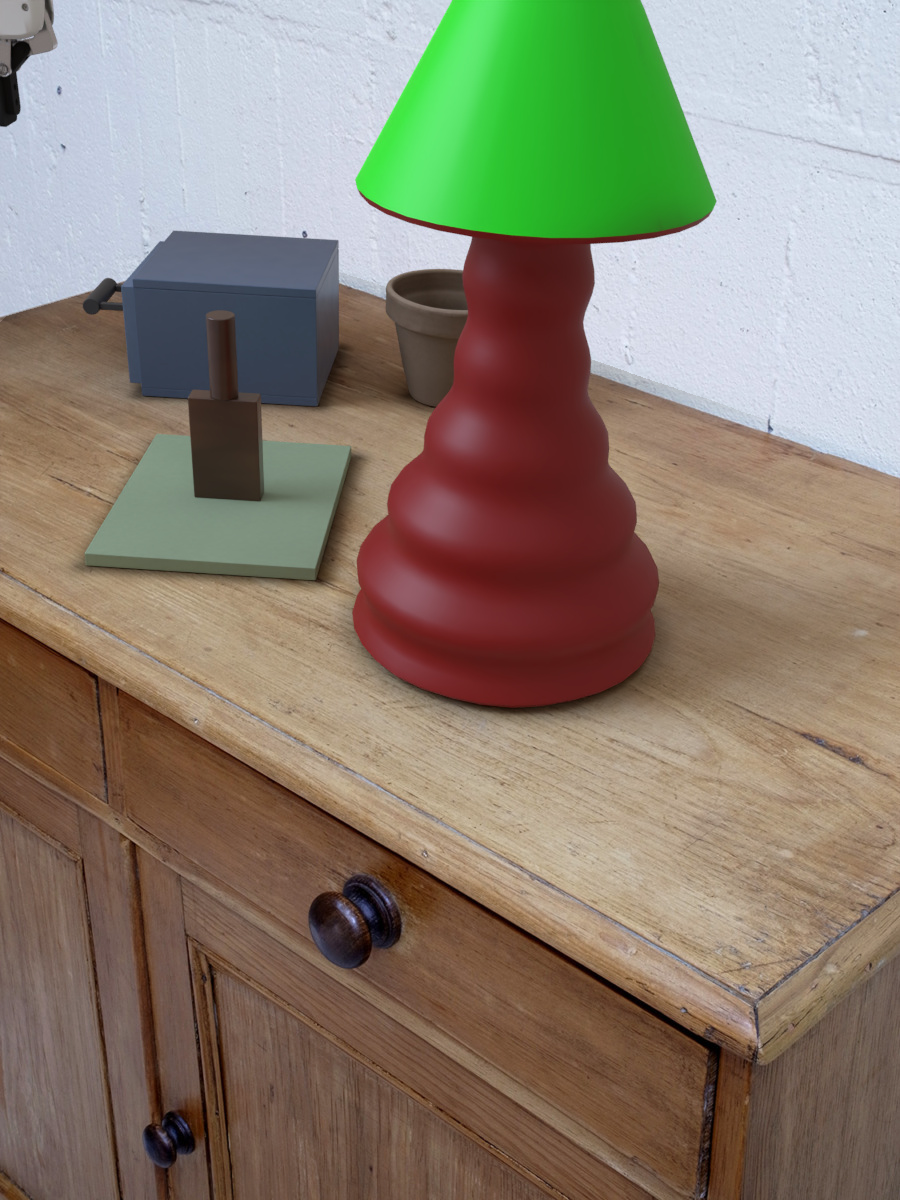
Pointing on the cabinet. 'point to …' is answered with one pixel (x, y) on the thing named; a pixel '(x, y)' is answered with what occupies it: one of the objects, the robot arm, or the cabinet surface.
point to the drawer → (100, 299)
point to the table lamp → (524, 350)
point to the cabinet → (240, 313)
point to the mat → (224, 515)
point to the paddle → (225, 423)
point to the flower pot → (428, 328)
